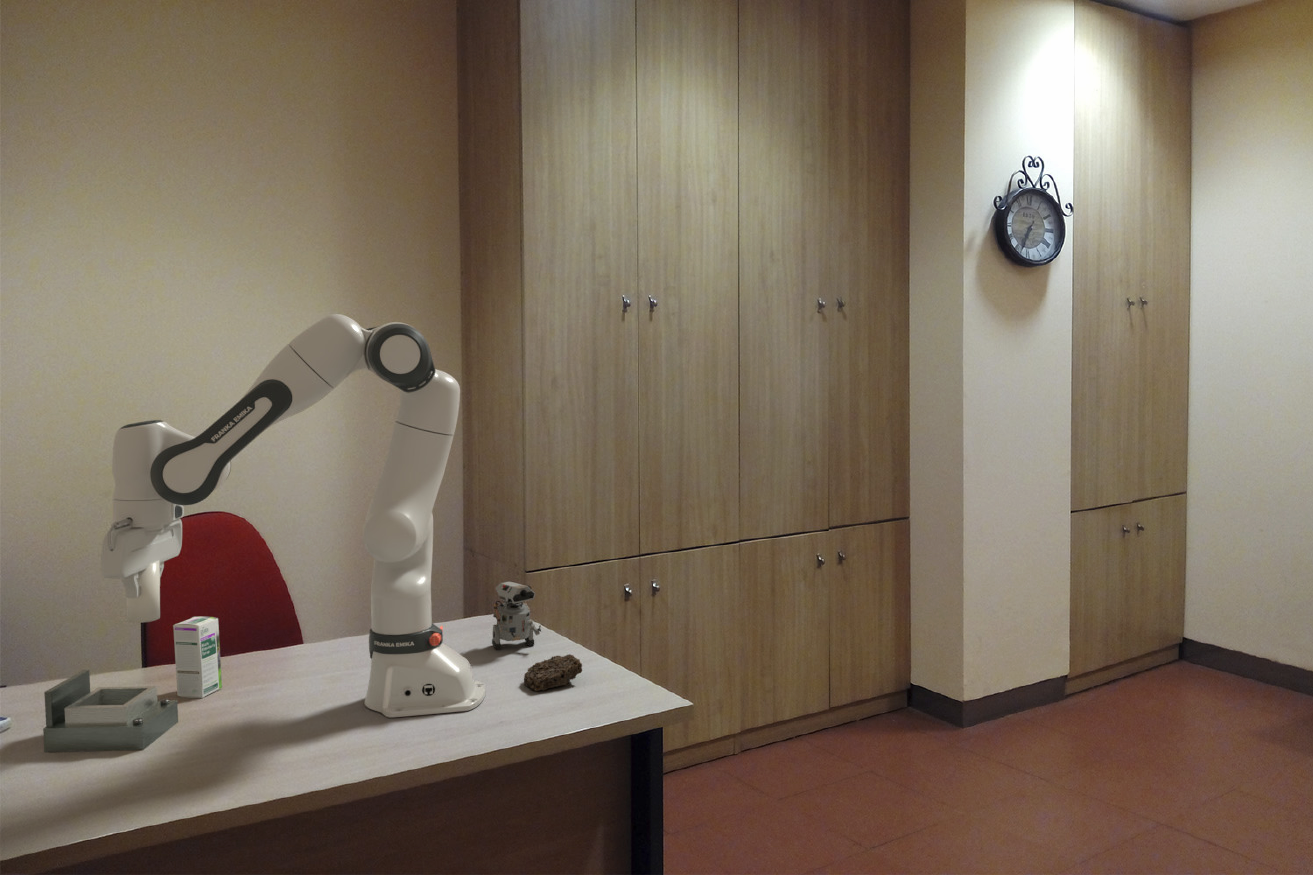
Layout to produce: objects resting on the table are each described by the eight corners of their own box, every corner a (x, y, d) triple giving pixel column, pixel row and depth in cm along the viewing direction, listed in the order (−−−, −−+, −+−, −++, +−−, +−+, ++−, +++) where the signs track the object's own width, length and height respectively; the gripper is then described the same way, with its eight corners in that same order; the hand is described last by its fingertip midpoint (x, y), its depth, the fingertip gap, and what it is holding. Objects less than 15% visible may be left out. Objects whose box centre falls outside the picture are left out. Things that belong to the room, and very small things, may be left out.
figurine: (501, 658, 197) (500, 591, 196) (490, 643, 208) (489, 579, 207) (541, 653, 201) (541, 587, 199) (529, 639, 211) (528, 576, 210)
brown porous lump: (571, 671, 189) (571, 648, 188) (586, 687, 179) (586, 662, 179) (518, 679, 184) (517, 654, 184) (530, 695, 175) (530, 670, 175)
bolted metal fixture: (178, 721, 162) (175, 667, 161) (143, 749, 150) (140, 691, 149) (86, 723, 161) (84, 669, 160) (44, 751, 149) (41, 693, 148)
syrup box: (202, 698, 173) (199, 624, 172) (175, 696, 174) (172, 623, 173) (222, 688, 179) (219, 616, 178) (196, 686, 180) (193, 615, 179)
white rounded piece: (165, 615, 159) (164, 559, 159) (150, 622, 154) (150, 565, 154) (122, 614, 159) (121, 558, 158) (106, 622, 154) (105, 564, 153)
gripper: (128, 524, 145) (129, 608, 146) (188, 505, 166) (189, 579, 167) (88, 523, 145) (90, 607, 146) (153, 505, 165) (154, 579, 166)
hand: (143, 592), depth 156 cm, fingers closed on white rounded piece, 5 cm apart
